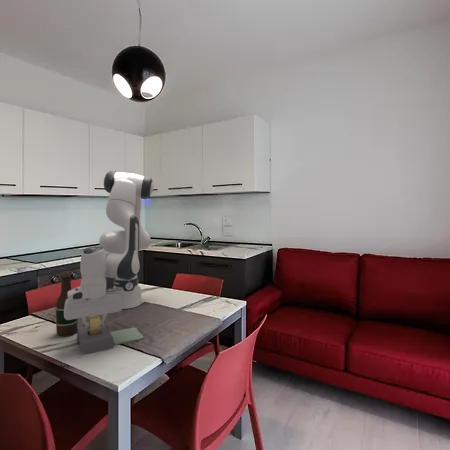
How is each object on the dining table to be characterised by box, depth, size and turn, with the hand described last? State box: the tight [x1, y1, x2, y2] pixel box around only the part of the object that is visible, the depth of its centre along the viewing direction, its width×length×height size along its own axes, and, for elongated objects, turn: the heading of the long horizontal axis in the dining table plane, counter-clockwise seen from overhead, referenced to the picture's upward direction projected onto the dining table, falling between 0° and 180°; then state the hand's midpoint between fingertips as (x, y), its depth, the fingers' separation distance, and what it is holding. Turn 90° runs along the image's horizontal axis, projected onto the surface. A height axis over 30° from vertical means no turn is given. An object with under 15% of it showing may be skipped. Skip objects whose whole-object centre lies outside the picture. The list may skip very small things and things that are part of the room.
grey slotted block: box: [76, 322, 114, 355], centre depth 118 cm, size 16×10×4 cm, turn 32°
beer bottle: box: [55, 273, 78, 338], centre depth 126 cm, size 8×8×24 cm
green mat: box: [109, 326, 145, 346], centre depth 124 cm, size 12×11×1 cm
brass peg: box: [88, 315, 101, 336], centre depth 118 cm, size 4×4×10 cm
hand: (94, 326), depth 118 cm, fingers closed on brass peg, 3 cm apart
